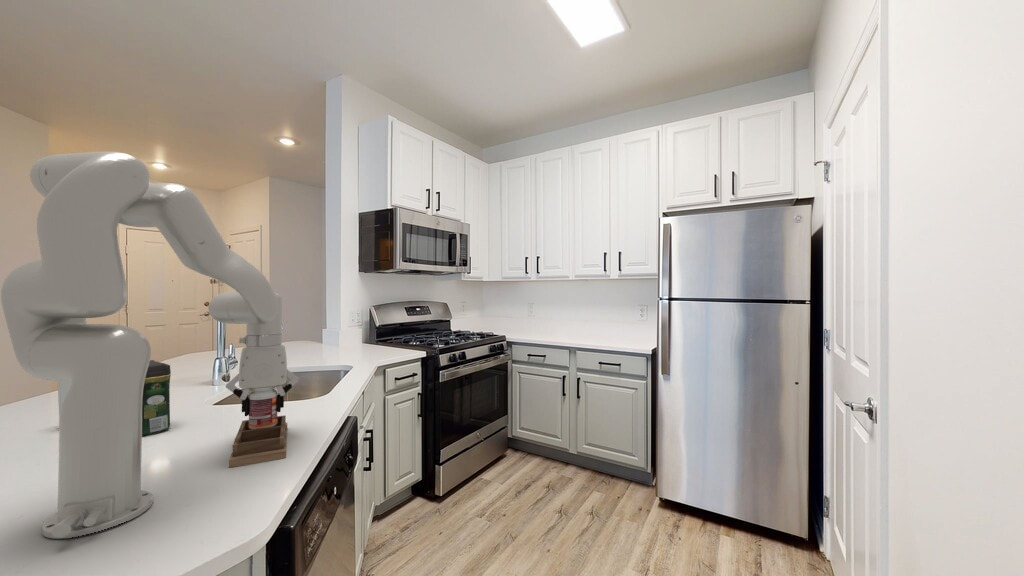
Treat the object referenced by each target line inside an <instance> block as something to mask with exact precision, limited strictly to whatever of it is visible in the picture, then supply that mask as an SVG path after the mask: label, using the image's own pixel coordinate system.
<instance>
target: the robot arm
mask: <svg viewBox="0 0 1024 576" xmlns="http://www.w3.org/2000/svg"><path fill="white" fill-rule="evenodd" d="M30 168H31V169H30V170H29V171H30V172H29V178H30V182H31V183H32V186H33V188H34V189H35V190H36V191H37V193H39V194H40V196H42V197H44V199H43V202H42V203H41V205H40V207H39V211H38V213H37V217H36V232H37V233H36V234H37V239H38V247H39V253H40V259H38V260H32V261H28V262H25V263H23V264H20V265H18V266H17V267H16V268H13V269H12V270H11V271H10V272H9V273H8V275H6V277H5V279H4V281H3V282H2V286H1V289H0V303H1V306H2V310H3V314H4V319H5V322H6V325H7V330H8V333H9V338H10V341H11V343H12V344H11V345H12V347H13V348H12V349H13V351H14V354H15V357H16V359H17V362H18V364H19V365H20V367H21V368H22V369H23V370H24V371H25V372H26V373H27V374H28V375H30V376H32V377H35V378H37V379H41V380H44V381H45V380H46V381H54V382H58V381H71V382H72V383H71V386H70V389H69V391H68V393H67V395H66V397H65V399H64V401H63V403H62V406H61V410H60V415H59V414H58V429H59V433H58V437H59V438H58V439H59V440H58V481H57V482H58V483H57V484H58V485H57V512H55V513H54V514H52V515H50V516H49V517H48V518H47V519H46V520H44V521H43V523H42V524H41V534H42V536H43V537H45V538H49V539H59V540H60V539H61V540H62V539H72V537H73V538H77V537H78V536H79V537H83V536H82V535H84V536H87V535H86V534H89V535H91V534H90V533H93V534H95V533H94V532H96V533H99V532H98V531H100V530H103V531H105V530H104V529H106V530H108V529H107V528H109V529H111V528H110V527H112V528H114V527H113V526H115V527H117V526H119V525H118V524H120V525H122V524H121V523H123V524H125V523H126V521H127V522H128V521H131V520H134V519H135V518H137V517H139V516H140V515H142V514H143V513H145V512H146V511H147V510H148V509H149V508H150V507H151V506H152V504H153V500H154V497H153V494H152V493H151V492H149V491H147V490H142V457H143V456H142V451H143V449H142V448H143V447H142V446H143V435H142V399H143V387H144V381H145V377H146V373H147V369H148V366H149V362H150V360H151V355H152V348H151V344H150V342H149V340H148V339H147V337H146V336H145V335H144V334H143V333H141V331H139V330H137V329H135V328H132V327H129V326H126V325H120V324H109V323H105V324H102V323H101V324H100V323H87V319H96V318H103V317H104V318H105V317H108V316H111V315H114V314H116V313H118V312H120V311H121V310H122V309H123V308H124V307H125V305H126V304H127V302H128V295H129V294H128V285H127V281H126V277H125V276H126V275H125V272H124V271H125V270H124V265H123V261H122V257H121V250H120V246H119V237H118V228H119V226H118V225H119V224H121V225H124V226H128V227H134V228H156V229H158V231H159V232H160V233H161V235H162V236H163V238H164V239H165V240H166V242H167V243H168V245H169V246H170V248H171V249H172V250H173V252H174V254H175V255H176V257H177V258H178V259H179V261H180V262H181V264H182V265H183V266H184V267H186V268H188V269H190V270H191V271H193V272H196V273H199V274H200V275H204V276H206V277H209V278H212V279H214V280H217V281H219V282H222V283H224V284H225V285H227V286H229V287H230V288H231V289H233V290H235V291H225V292H220V293H219V294H217V295H214V297H213V298H211V300H210V301H209V304H208V313H209V315H210V316H211V318H212V319H214V320H215V321H217V322H219V323H222V324H230V325H231V324H235V325H237V324H238V325H242V324H243V325H246V335H245V336H243V337H239V340H238V344H244V345H245V347H243V348H242V349H241V353H240V359H239V368H238V369H239V370H238V373H237V374H236V375H235V376H234V377H233V378H232V379H230V381H228V382H227V383H226V385H225V388H226V389H227V390H229V391H230V392H232V393H233V394H234V395H235V396H236V397H238V398H239V399H240V400H241V413H244V417H248V416H249V393H250V390H251V389H257V388H268V387H275V389H276V391H277V393H278V396H277V413H281V410H282V408H283V409H284V406H285V395H286V393H288V392H289V391H290V390H291V389H292V388H293V387H294V386H295V385H296V384H297V383H298V382H299V381H300V380H299V379H300V378H299V377H298V376H296V374H294V373H293V372H291V370H289V369H288V363H287V361H288V359H287V351H286V347H285V345H284V344H282V334H283V333H282V330H283V329H282V327H283V326H282V324H283V317H282V316H283V298H282V295H281V294H280V293H277V292H275V291H274V290H273V287H272V285H271V284H270V282H269V280H268V279H267V277H266V276H265V275H264V273H262V272H261V271H260V270H259V269H258V268H257V267H256V266H255V265H252V263H250V262H249V261H247V259H245V258H243V257H242V256H240V255H239V254H238V253H236V252H235V251H233V250H231V249H230V248H229V246H228V245H227V244H226V242H225V240H224V239H223V237H222V236H221V234H220V232H219V230H218V229H217V227H216V226H215V224H214V222H213V221H212V219H211V216H210V215H209V214H208V212H207V210H206V209H205V207H204V206H203V204H202V201H201V200H200V198H199V197H198V196H197V194H196V193H195V192H194V190H192V189H191V188H189V187H188V186H186V185H183V184H180V183H172V182H170V183H169V182H153V183H152V182H151V175H150V171H149V169H148V167H147V165H146V163H144V162H143V161H142V160H141V159H139V158H137V157H136V156H134V155H131V154H128V153H125V152H121V151H87V152H85V151H84V152H78V153H76V152H75V153H59V154H58V153H57V154H52V155H51V154H50V155H47V156H43V157H42V158H40V159H38V160H36V161H35V162H34V163H33V165H32V166H31V167H30ZM288 379H290V381H289V382H288V381H287V380H288ZM286 382H288V383H287V384H286ZM237 383H238V387H239V388H238V387H237V386H236V384H237ZM285 384H286V385H285ZM124 522H125V523H124ZM116 525H117V526H116ZM100 532H101V531H100Z"/></svg>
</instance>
